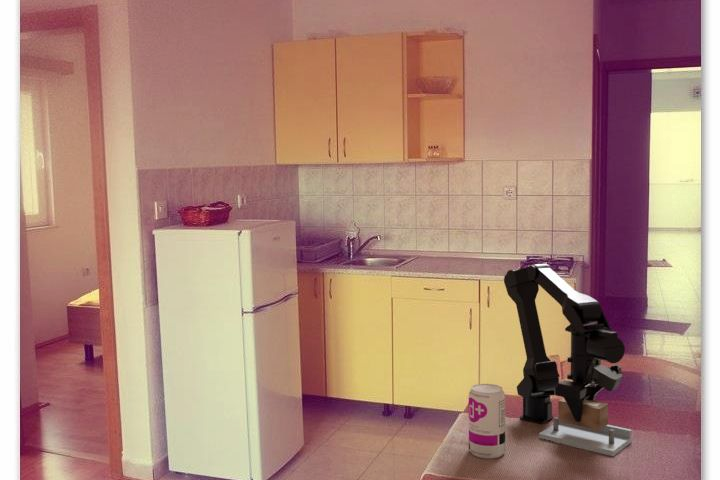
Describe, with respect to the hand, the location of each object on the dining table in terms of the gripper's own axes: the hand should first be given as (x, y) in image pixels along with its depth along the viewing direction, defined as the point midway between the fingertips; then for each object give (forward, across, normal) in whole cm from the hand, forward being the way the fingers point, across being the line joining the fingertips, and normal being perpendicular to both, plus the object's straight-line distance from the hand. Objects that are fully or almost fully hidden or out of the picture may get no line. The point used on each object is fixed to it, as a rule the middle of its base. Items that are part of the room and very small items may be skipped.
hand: (582, 418), depth 166 cm
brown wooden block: (+1, 0, 0) cm, 1 cm away
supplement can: (+6, -20, +14) cm, 25 cm away
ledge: (+6, 0, 0) cm, 6 cm away
